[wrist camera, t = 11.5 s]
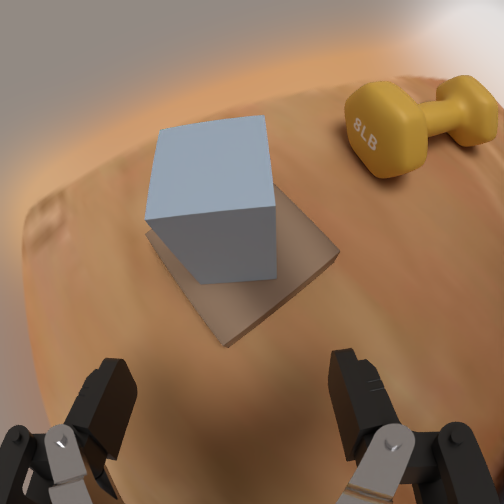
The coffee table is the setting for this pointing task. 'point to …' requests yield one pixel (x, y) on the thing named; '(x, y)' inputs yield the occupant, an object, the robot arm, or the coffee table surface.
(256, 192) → the pillar
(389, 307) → the coffee table surface
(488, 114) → the dumbbell
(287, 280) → the slab
